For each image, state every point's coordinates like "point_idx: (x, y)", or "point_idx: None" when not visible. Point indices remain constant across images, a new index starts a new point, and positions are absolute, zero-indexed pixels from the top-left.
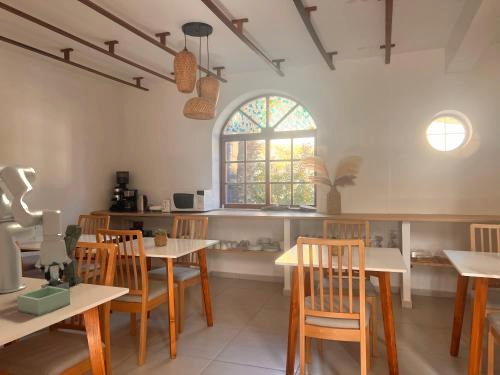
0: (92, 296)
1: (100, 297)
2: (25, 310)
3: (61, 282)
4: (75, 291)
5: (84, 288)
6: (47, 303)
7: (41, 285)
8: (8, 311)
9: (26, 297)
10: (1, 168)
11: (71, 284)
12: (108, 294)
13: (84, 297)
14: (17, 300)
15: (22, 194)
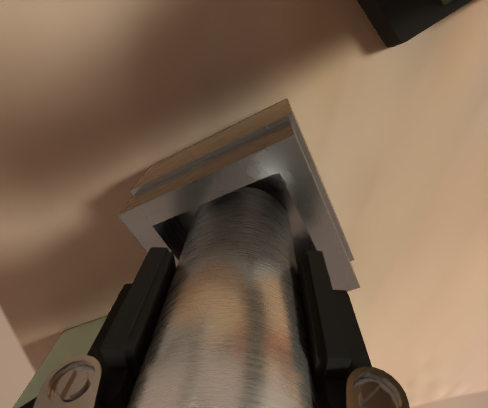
0: (409, 355)
1: (427, 386)
2: None
3: (309, 232)
4: (390, 206)
5: (481, 173)
6: None
7: (120, 217)
8: (17, 309)
9: None
10: None
11: (456, 7)
12: (483, 375)
13: (372, 346)
14: (28, 384)
15: None
